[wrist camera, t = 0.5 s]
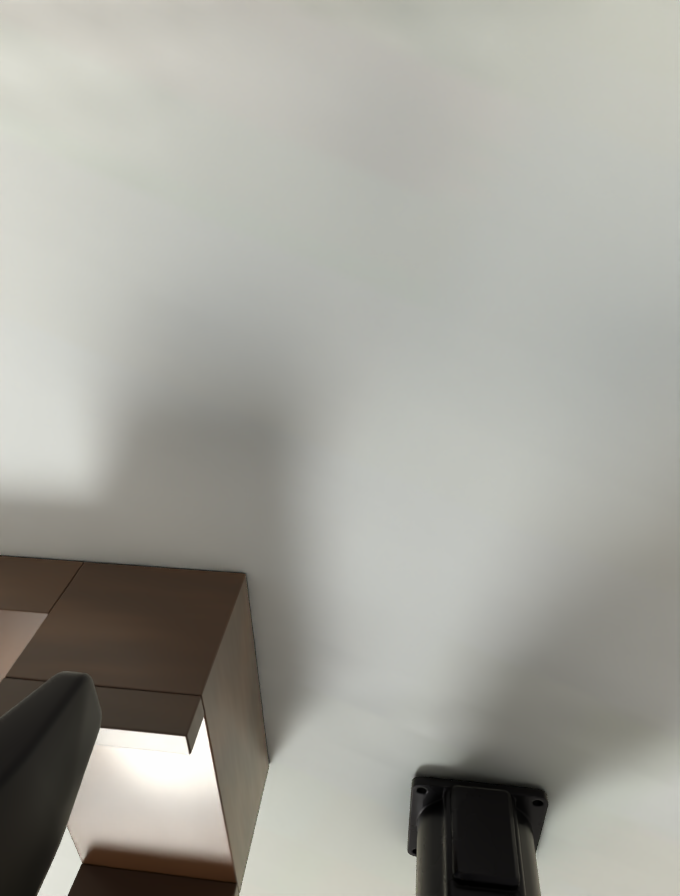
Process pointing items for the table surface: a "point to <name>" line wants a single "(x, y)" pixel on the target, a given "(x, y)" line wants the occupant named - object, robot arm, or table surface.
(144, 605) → the step shelf
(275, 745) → the table surface
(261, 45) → the table surface
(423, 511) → the table surface
